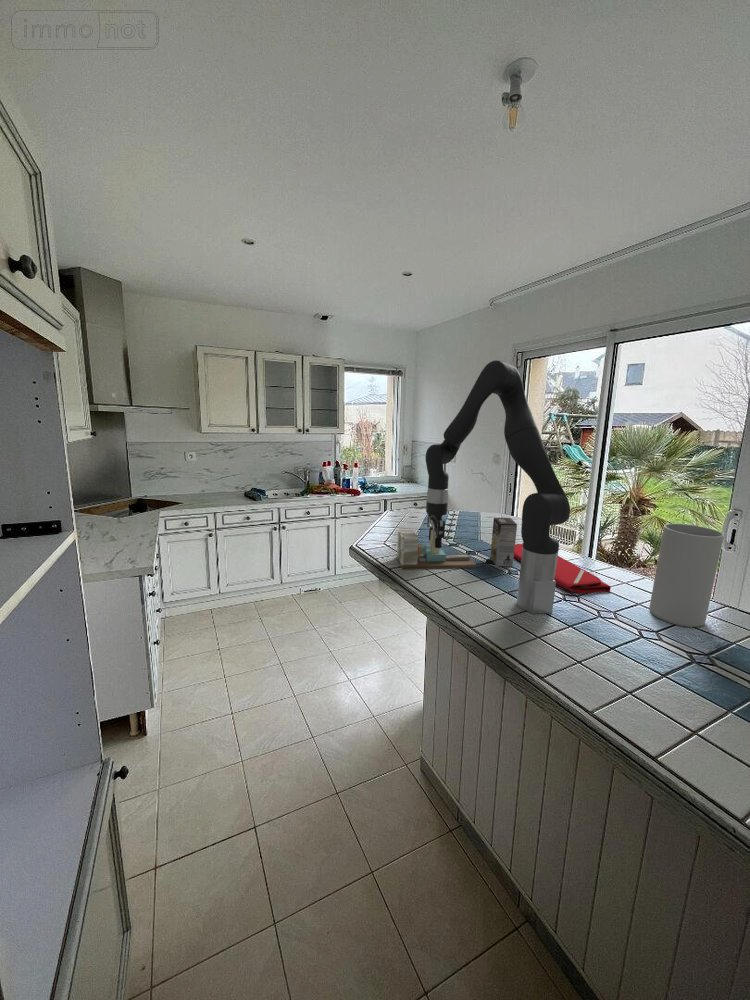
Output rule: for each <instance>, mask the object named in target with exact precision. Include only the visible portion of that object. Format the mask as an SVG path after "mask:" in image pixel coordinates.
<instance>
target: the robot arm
mask: <svg viewBox="0 0 750 1000" xmlns="http://www.w3.org/2000/svg"><path fill="white" fill-rule="evenodd" d="M525 393H526V392H525V388H524V385H523V381H522V376H521V374H520V372H519V370H518V369H517V367H515V366H513V365H512V364H509V363H507V362H504V361H502V360H497V359H496V360H492V361H489V363H487V364H486V365H485V366H484V367H483V368H482V370H481V372H480V374H479V375H478V376H477V379H476V381H475V383H474V384H473V386H472V388H471V390H470V391H469V394H468V395H467V397H466V399H465V401H464V403H463V405H462V406H461V409H460V410H459V411H458V413H457V414H456V416H455V417H454V419H452V421H451V422H450V424H449V425H448V426H447V428H446V429H445V430H444V432H443V439H444V440H443V441H442V442H441V443H439V444H438V443H437V444H432V445H430V446H428V448H427V450H426V451H425V452H426V453H425V464H426V470H427V474H428V481H427V484H428V485H427V492H426V501H425V502H426V506H425V507H426V508H425V512H426V514H427V523H426V527H427V529H428V540H429V541H430V539H431V530H433V532H435V548H440V549H442V541H443V538H445V536H446V535H445V534H446V533H445V532H446V521H445V520H443V516H446V515H447V514H448V508H449V507H448V504H449V477H450V476H449V474H448V472H446V471H444V465H445V464H448V463H450V462H451V461H452V460H453V459H454V458H455V457H456V455H457V453H458V451H459V450H460V447H461V446H462V444H463V442H464V441H465V440H466V439H467V437H468V436H469V435H470V434H471V433H472V431H473V430H474V428H475V426H476V423H477V421H478V417H479V414H480V410H481V408H482V406H483V405H484V404H485V402H486V400H487V399H489V397H490V396H491V395H492V394H495V395H497V396H498V398H499V399H500V401H501V403H502V407H503V409H504V414H505V419H504V420H505V421H504V427H503V428H504V429H503V430H504V431H503V434H504V439H505V442H506V445H507V446H506V447H507V448H508V451H509V454H510V457H512V459H513V460H514V462H515V463H516V464H517V465H518V466H519V467H520V469H522V471H524V473H526V475H527V476H528V477H529V478H530V480H531V481H532V483H533V485H534V487H535V489H536V492H535V493H530V494H529V495H528V496H527V497H526V498H525V500H524V501H523V505H522V513H521V528H520V529H521V531H520V532H521V539H522V544H523V549H522V558H521V561H520V570H519V579H518V588H517V598H516V605H517V606H518V607H519V608H521V610H524V611H527V612H529V613H531V614H533V615H535V614H553V609H554V602H555V594H556V586H557V584H556V581H555V574H556V566H557V558H558V556H559V548H560V543H559V540H558V539H556V538H554V537H551V536H550V529H551V528H550V526H557V525H561V524H564V523H566V522H567V521H568V519H569V518H570V514H571V506H570V502H569V499H568V497H567V495H566V493H565V490H564V489H563V487H562V485H561V483H560V481H559V478H558V477H557V475H556V473H555V470H554V468H553V466H552V463H551V460H550V457H549V455H548V454H547V450H546V448H545V446H544V441H543V438H542V437H541V433H540V431H539V429H538V426H537V424H536V421H535V419H534V415H533V413H532V411H531V409H530V406H529V403H528V400H527V397H526V394H525ZM439 532H440V534H439Z"/></svg>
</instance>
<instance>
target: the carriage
mask: <svg viewBox="0 0 750 1000" xmlns="http://www.w3.org/2000/svg"><path fill="white" fill-rule="evenodd" d="M439 534H440V532H439ZM429 542H430V543H429V544H430V545H429V548H428V549H427V546H426V545H425V544H419V545H420V546H421V554H423V556H425V557H426V562H435V561H445V559H446V554H447V553H445V551H444V550H443V549H442V548H435V532H433V530H431V539H430V540H429Z"/></svg>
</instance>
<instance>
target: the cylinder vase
mask: <svg viewBox="0 0 750 1000" xmlns="http://www.w3.org/2000/svg"><path fill="white" fill-rule="evenodd" d="M724 538H725V534H724V533H723V532H721V531H719V530H716V529H713V528H709V527H705V526H699V525H694V524H686V523H685V524H684V523H666V524H664V525H663V530H662V536H661V541H660V546H659V552H658V557H657V558H658V559H657V563H656V570H655V574H654V579H653V585H652V590H651V596H650V601H649V602H650V603H649V611H650V613H651V614H652V615H654V616H655V617H656V618H658V619H659V620H661V621H664V622H666V623H670V624H673V625H676V626H680V627H685V628H686V627H687V628H699V627H702V626H704V625H705V624H706V622H707V621H706V620H707V616H708V611H709V606H710V602H711V597H712V593H713V588H714V583H715V580H716V574H717V570H718V565H719V560H720V555H721V551H722V547H723V542H724Z"/></svg>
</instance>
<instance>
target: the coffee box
mask: <svg viewBox="0 0 750 1000" xmlns="http://www.w3.org/2000/svg"><path fill="white" fill-rule="evenodd" d="M517 529H518V524H517V522H515V521H514V520H513V519H512V518H511V517H493V524H492V535H491V536H492V537H491V544H490V545H491V548H490V559H491V560H492V562H493V563H494V565H495V566H497V567H513V566H514V559H515V558H514V549H515V545H516V538H517Z"/></svg>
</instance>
